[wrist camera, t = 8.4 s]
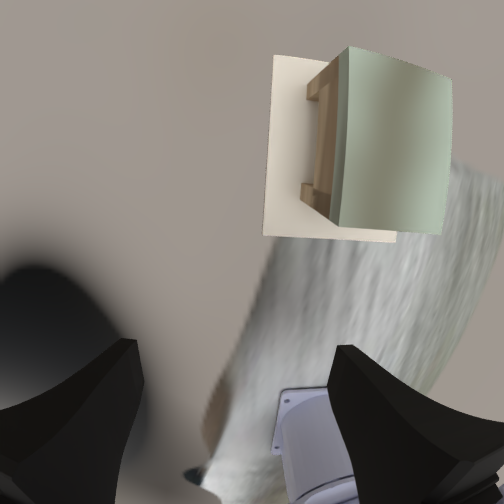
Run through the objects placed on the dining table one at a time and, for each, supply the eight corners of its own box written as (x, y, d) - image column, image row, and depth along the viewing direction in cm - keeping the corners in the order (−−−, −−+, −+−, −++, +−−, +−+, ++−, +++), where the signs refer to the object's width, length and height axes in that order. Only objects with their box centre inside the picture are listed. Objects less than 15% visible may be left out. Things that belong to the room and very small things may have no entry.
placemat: (392, 241, 19) (395, 242, 19) (261, 234, 18) (262, 235, 18) (405, 83, 16) (408, 82, 15) (273, 56, 15) (273, 54, 15)
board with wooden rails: (383, 98, 16) (451, 79, 9) (375, 206, 18) (440, 235, 11) (306, 84, 15) (348, 45, 9) (299, 199, 17) (338, 226, 11)
